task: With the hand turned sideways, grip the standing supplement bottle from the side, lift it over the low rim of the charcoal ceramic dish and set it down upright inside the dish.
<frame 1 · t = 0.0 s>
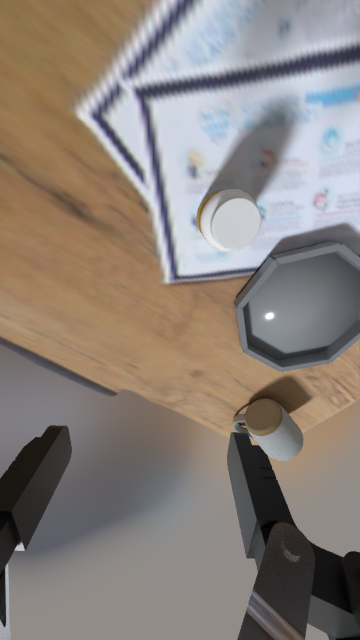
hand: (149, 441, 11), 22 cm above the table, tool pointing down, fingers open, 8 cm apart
supplement bottle: (218, 216, 27), on the table
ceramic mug: (258, 412, 43), on the table
dish: (298, 309, 32), on the table
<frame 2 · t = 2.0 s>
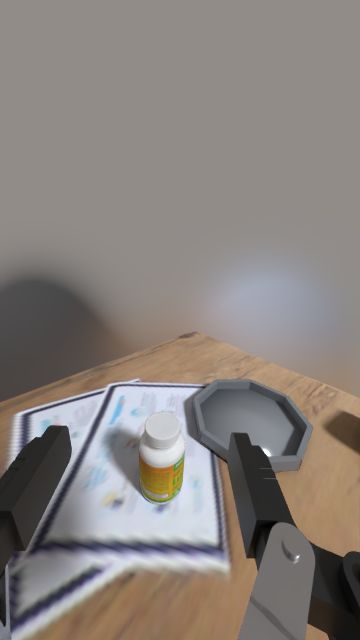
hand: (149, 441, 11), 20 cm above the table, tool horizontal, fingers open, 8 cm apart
supplement bottle: (161, 483, 29), on the table
dish: (247, 422, 38), on the table
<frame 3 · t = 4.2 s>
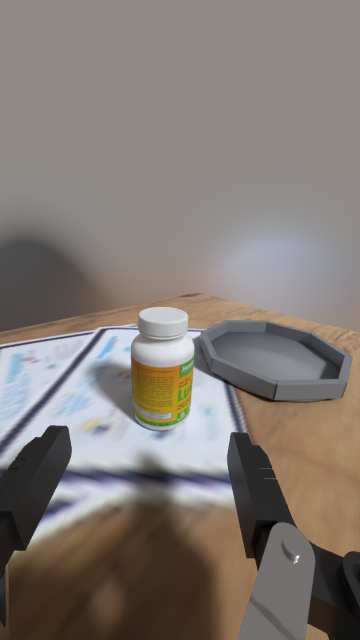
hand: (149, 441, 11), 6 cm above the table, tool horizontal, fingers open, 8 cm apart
supplement bottle: (161, 411, 21), on the table
dish: (267, 359, 31), on the table
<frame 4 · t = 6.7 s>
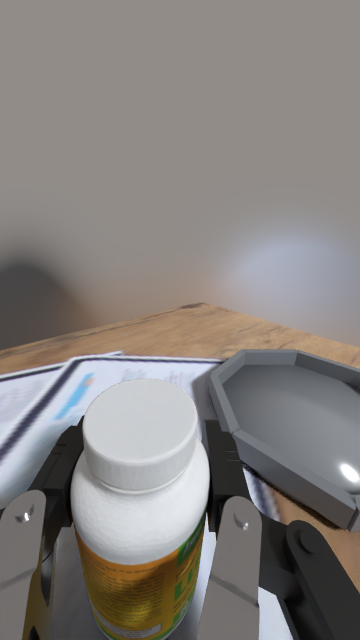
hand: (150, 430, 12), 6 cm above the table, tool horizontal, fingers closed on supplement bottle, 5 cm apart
supplement bottle: (145, 563, 11), on the table, touching gripper
dish: (307, 416, 21), on the table
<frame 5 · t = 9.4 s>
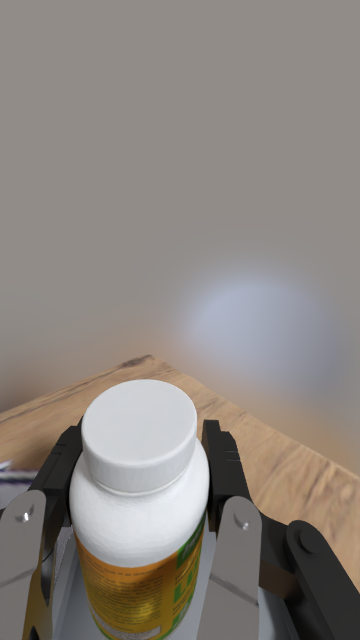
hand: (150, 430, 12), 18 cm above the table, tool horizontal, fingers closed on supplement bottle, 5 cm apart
supplement bottle: (144, 565, 11), point 11 cm above the table, touching gripper
dish: (174, 603, 18), on the table
when the fingers open (8 cm above the table, at t = 12.5 s): supplement bottle drops 1 cm, resting on dish.
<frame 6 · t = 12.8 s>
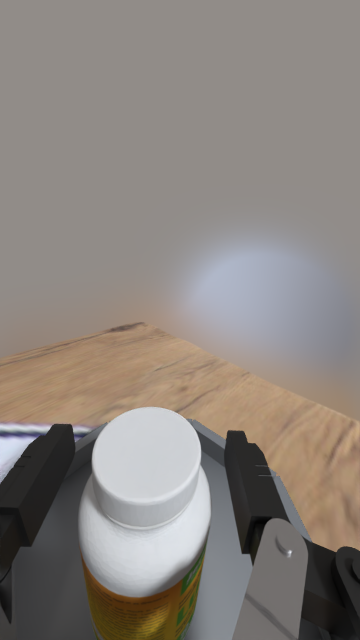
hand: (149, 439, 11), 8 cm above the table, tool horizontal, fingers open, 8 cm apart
supplement bottle: (145, 583, 12), resting on dish
dish: (145, 583, 12), on the table
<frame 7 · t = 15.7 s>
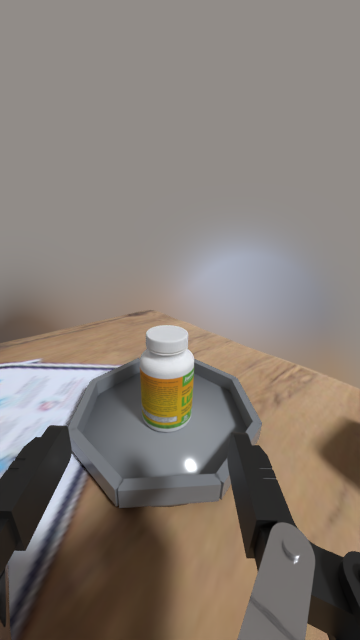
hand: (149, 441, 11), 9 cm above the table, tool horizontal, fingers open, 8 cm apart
supplement bottle: (167, 415, 24), resting on dish
dish: (166, 417, 25), on the table
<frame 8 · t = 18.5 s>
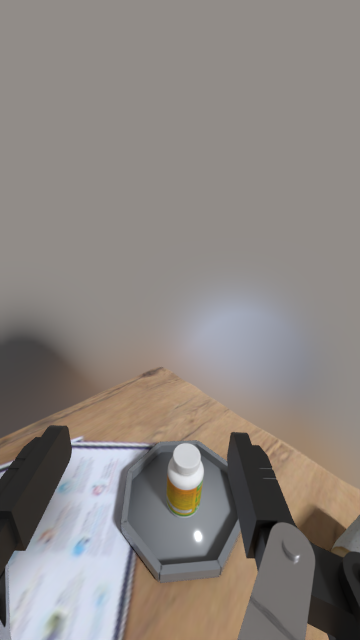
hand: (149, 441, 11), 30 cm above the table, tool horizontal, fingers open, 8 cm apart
supplement bottle: (183, 500, 35), resting on dish
dish: (182, 500, 36), on the table
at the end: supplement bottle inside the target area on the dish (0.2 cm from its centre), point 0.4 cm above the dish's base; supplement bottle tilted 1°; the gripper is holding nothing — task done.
